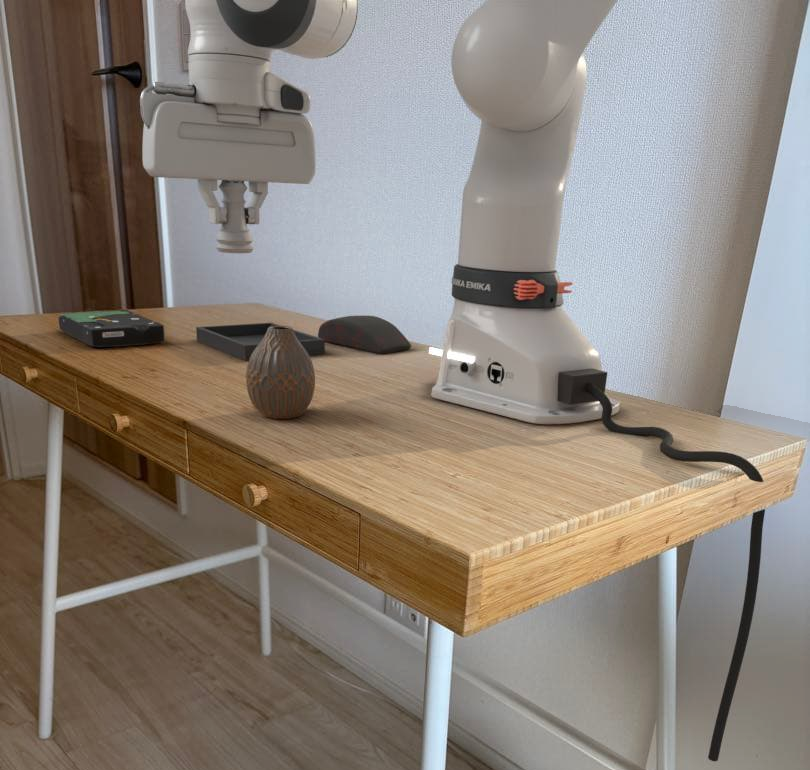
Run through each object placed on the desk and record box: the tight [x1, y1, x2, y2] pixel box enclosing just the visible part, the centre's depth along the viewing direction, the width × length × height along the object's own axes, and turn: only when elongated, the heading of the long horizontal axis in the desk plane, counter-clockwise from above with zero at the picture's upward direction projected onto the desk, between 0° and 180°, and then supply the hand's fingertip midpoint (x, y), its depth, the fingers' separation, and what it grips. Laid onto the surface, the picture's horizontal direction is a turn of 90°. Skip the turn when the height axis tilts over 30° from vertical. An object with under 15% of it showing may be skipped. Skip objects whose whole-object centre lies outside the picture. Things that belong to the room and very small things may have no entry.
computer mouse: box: [317, 315, 412, 355], centre depth 123 cm, size 8×14×4 cm, turn 49°
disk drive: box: [57, 309, 166, 348], centre depth 118 cm, size 10×3×15 cm
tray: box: [195, 322, 326, 362], centre depth 117 cm, size 15×12×2 cm
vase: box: [245, 325, 316, 420], centre depth 84 cm, size 7×7×9 cm
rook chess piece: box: [215, 180, 255, 254], centre depth 97 cm, size 4×4×8 cm
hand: (234, 223), depth 97 cm, fingers closed on rook chess piece, 3 cm apart
